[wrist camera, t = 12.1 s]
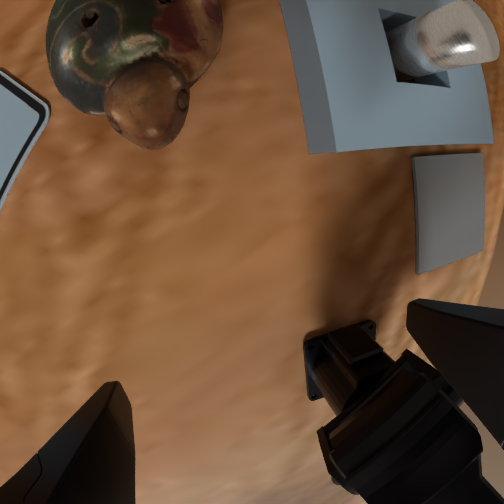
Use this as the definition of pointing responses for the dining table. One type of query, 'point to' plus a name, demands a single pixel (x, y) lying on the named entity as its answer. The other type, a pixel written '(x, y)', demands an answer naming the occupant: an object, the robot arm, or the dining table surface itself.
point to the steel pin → (443, 41)
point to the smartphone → (17, 129)
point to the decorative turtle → (133, 60)
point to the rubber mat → (448, 208)
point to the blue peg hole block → (376, 80)
